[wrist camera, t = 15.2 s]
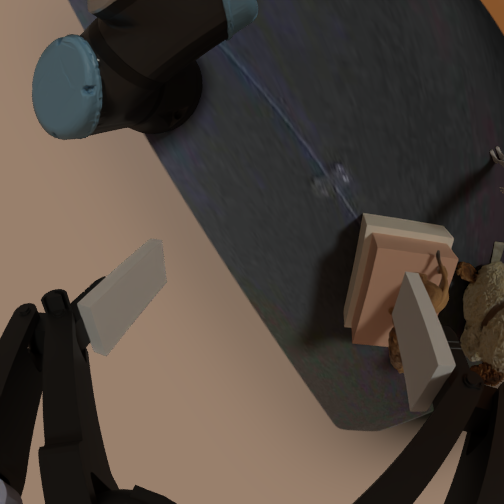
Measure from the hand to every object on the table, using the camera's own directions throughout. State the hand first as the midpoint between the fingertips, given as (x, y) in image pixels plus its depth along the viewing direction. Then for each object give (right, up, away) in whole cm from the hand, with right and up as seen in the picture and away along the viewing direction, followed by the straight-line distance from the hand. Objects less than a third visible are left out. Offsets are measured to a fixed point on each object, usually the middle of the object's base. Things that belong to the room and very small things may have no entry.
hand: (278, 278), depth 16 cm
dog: (+42, -5, +29) cm, 51 cm away
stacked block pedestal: (+22, -2, +32) cm, 39 cm away
